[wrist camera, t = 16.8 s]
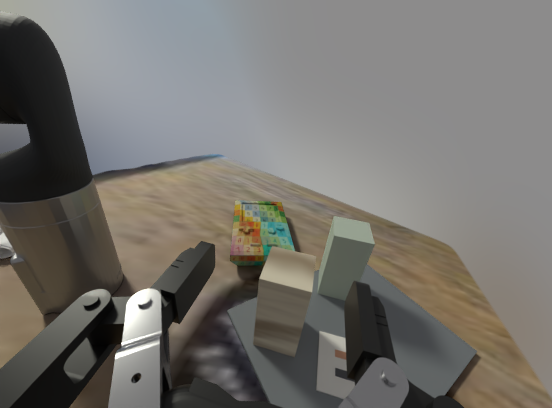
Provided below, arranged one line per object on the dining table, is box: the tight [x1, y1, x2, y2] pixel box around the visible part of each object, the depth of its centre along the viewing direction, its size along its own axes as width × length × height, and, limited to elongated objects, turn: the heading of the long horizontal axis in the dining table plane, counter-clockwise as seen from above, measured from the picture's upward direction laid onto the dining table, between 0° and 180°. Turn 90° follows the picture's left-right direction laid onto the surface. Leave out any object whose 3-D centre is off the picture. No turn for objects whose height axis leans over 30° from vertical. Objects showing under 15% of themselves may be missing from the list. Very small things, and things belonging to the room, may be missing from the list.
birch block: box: [253, 246, 316, 357], centre depth 28 cm, size 6×6×12 cm
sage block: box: [317, 216, 375, 301], centre depth 36 cm, size 6×6×12 cm
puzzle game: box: [230, 200, 295, 266], centre depth 49 cm, size 12×5×20 cm
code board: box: [227, 265, 477, 408], centre depth 32 cm, size 28×22×1 cm
